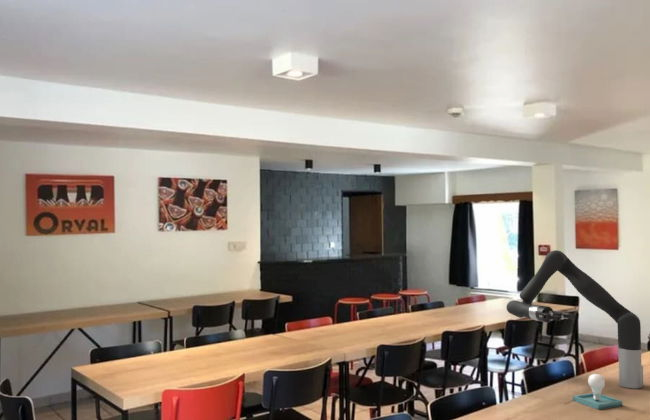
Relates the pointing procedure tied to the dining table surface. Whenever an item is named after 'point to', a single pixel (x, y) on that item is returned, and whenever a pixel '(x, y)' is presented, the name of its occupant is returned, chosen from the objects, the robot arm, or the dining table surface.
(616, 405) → the tray
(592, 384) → the lightbulb
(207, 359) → the dining table surface
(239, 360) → the dining table surface
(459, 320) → the dining table surface
